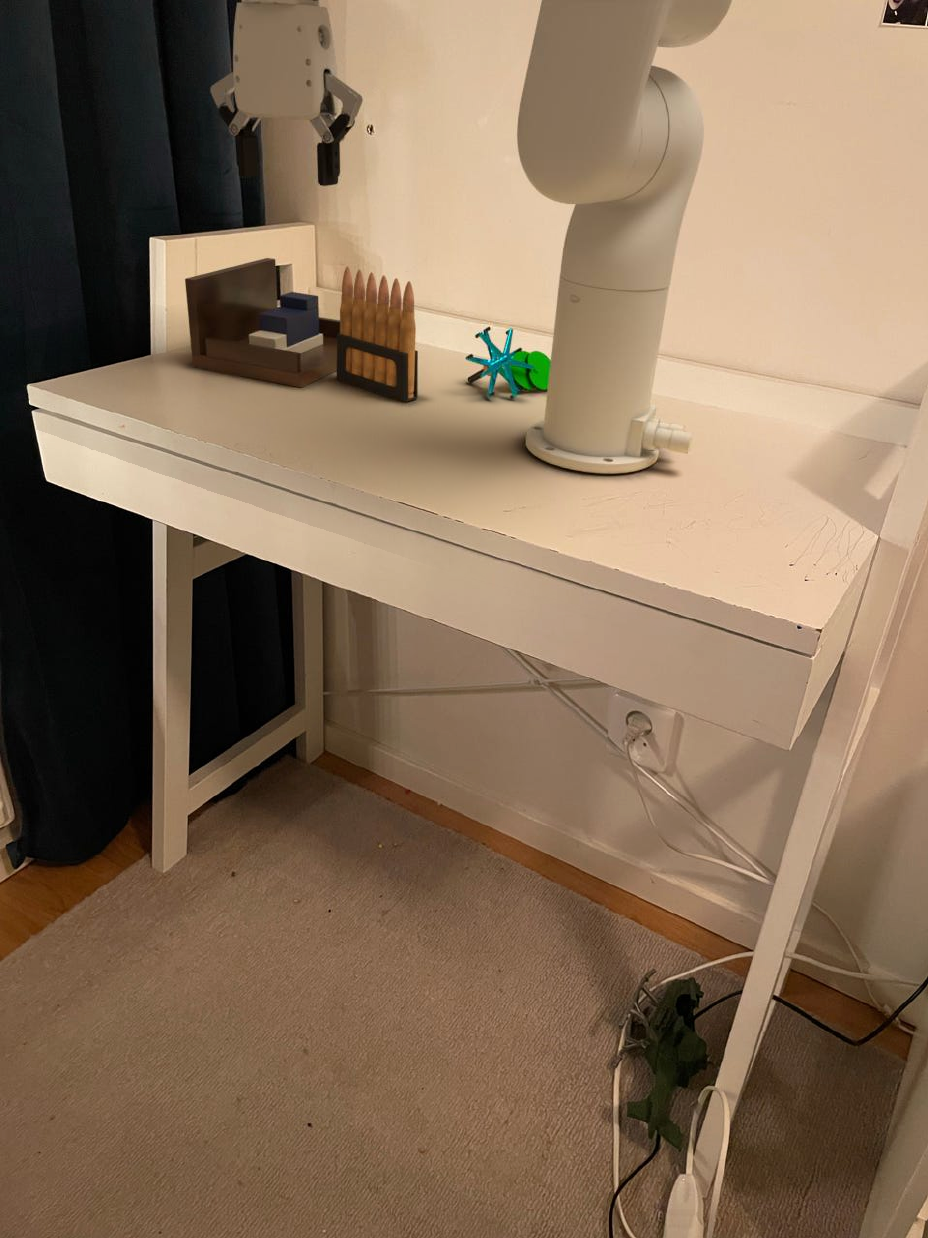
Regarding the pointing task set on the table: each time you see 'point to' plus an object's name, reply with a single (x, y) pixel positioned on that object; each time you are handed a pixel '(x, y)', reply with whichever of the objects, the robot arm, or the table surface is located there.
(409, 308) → the ammunition clip
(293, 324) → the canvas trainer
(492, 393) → the stick construction toy
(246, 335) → the wooden book end
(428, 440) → the table surface
